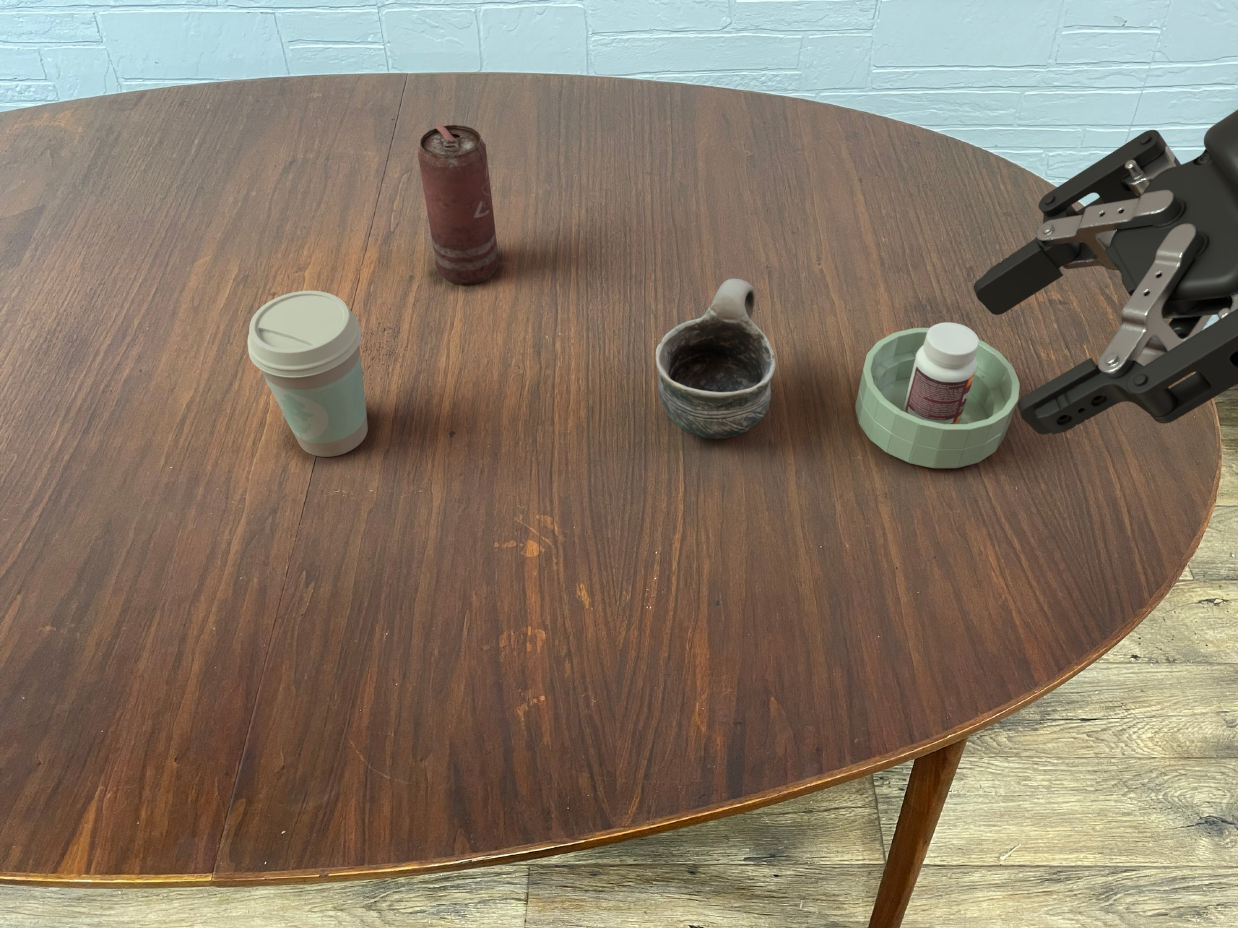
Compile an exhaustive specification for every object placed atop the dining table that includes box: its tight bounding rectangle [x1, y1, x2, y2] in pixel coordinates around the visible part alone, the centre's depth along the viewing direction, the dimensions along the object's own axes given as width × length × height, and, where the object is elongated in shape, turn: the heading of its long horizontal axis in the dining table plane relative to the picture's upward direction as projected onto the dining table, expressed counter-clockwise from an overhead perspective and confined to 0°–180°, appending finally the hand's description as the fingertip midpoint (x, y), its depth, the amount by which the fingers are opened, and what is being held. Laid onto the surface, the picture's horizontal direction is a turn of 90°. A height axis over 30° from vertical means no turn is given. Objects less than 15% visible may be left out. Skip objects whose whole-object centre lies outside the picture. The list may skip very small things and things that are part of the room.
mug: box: [655, 278, 776, 440], centre depth 85 cm, size 10×12×10 cm
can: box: [417, 124, 500, 286], centre depth 98 cm, size 6×6×14 cm
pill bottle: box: [903, 321, 980, 424], centre depth 84 cm, size 5×5×8 cm
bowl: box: [854, 327, 1021, 469], centre depth 86 cm, size 12×12×5 cm
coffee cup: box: [247, 290, 369, 458], centre depth 83 cm, size 9×8×12 cm
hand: (1004, 358), depth 50 cm, fingers open, 8 cm apart
